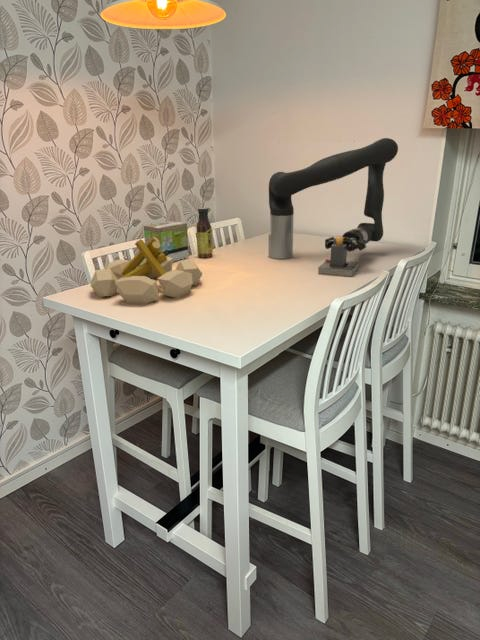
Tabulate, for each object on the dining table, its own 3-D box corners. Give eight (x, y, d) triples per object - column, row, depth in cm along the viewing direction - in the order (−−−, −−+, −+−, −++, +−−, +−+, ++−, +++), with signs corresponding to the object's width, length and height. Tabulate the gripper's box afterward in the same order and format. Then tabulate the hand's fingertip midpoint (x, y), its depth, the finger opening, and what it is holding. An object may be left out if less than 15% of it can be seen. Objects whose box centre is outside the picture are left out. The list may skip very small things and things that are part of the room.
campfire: (220, 283, 168) (218, 233, 162) (153, 312, 141) (148, 254, 135) (144, 270, 186) (140, 225, 180) (72, 294, 159) (64, 242, 153)
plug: (330, 270, 177) (331, 237, 173) (333, 267, 181) (335, 235, 176) (342, 272, 175) (344, 238, 171) (345, 269, 179) (347, 236, 175)
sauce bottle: (212, 258, 200) (210, 209, 193) (196, 258, 201) (194, 209, 194) (213, 254, 207) (211, 206, 200) (198, 255, 207) (196, 207, 200)
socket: (318, 274, 175) (318, 265, 174) (326, 266, 185) (326, 258, 184) (351, 277, 170) (352, 268, 169) (358, 268, 181) (358, 260, 180)
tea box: (163, 265, 191) (160, 227, 186) (145, 262, 197) (142, 225, 192) (189, 258, 202) (187, 222, 197) (172, 255, 208) (169, 220, 203)
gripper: (337, 227, 188) (319, 235, 175) (373, 230, 181) (357, 238, 168) (336, 247, 191) (319, 255, 178) (372, 250, 183) (356, 260, 171)
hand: (337, 247), depth 173 cm, fingers open, 8 cm apart
